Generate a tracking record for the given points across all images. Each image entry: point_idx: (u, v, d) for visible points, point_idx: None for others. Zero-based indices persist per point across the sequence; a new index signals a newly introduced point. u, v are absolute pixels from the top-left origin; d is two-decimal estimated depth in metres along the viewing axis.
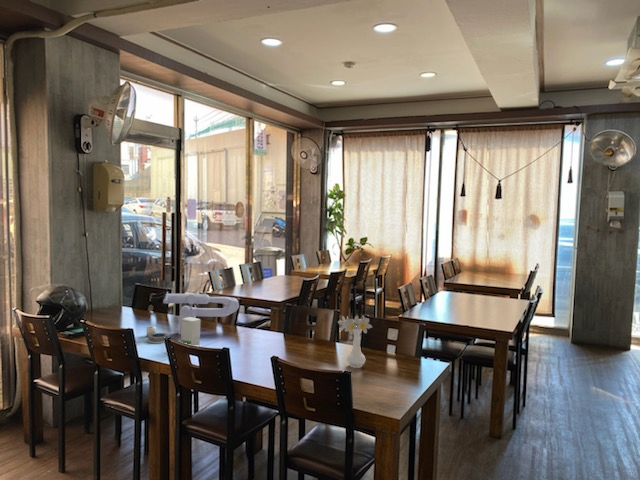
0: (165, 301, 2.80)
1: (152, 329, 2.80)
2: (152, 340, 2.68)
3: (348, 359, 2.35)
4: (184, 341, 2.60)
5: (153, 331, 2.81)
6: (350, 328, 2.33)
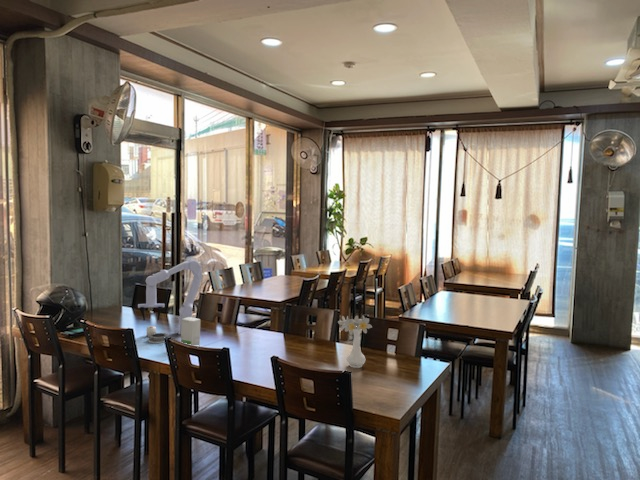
0: (164, 305, 2.83)
1: (152, 329, 2.80)
2: (152, 340, 2.68)
3: (348, 359, 2.35)
4: (184, 341, 2.60)
5: (153, 331, 2.81)
6: (350, 328, 2.33)
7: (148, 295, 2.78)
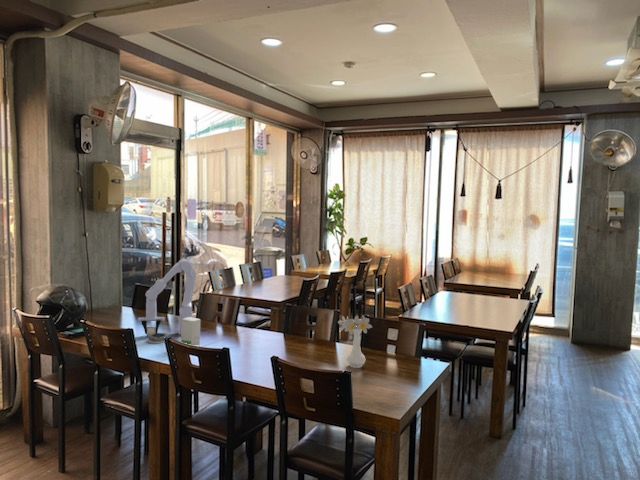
0: (164, 318, 2.84)
1: (152, 329, 2.80)
2: (152, 340, 2.68)
3: (348, 359, 2.35)
4: (184, 341, 2.60)
5: (153, 331, 2.81)
6: (350, 328, 2.33)
7: (148, 309, 2.79)
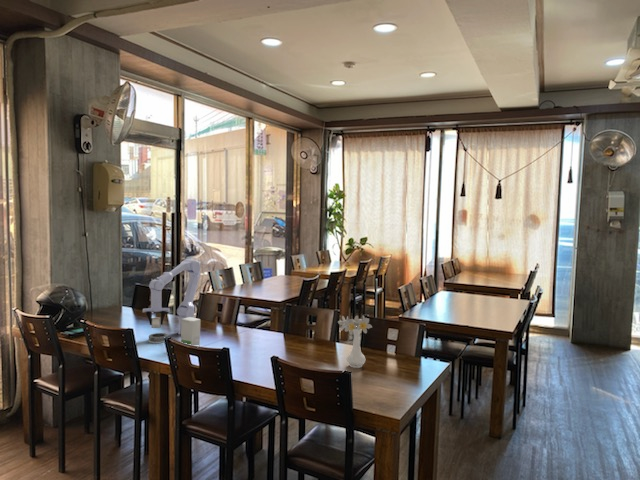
0: (169, 309, 2.76)
1: (157, 320, 2.73)
2: (152, 340, 2.68)
3: (348, 359, 2.35)
4: (184, 341, 2.60)
5: (158, 322, 2.74)
6: (350, 328, 2.33)
7: (155, 299, 2.71)
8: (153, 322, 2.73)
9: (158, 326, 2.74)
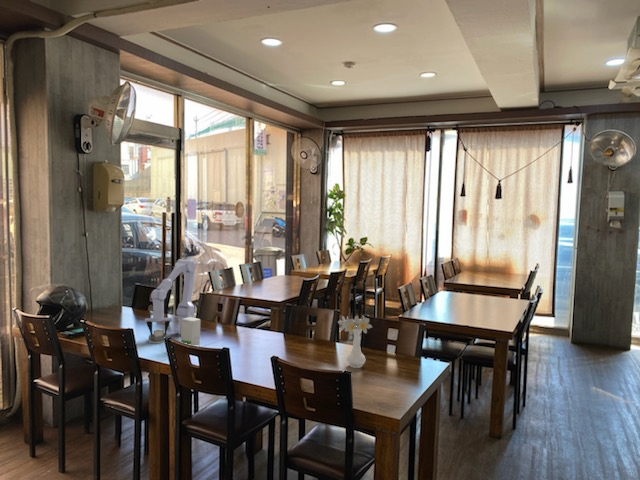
0: (171, 319, 2.74)
1: (160, 332, 2.71)
2: (152, 340, 2.68)
3: (348, 359, 2.35)
4: (184, 341, 2.60)
5: (161, 334, 2.71)
6: (350, 328, 2.33)
7: (158, 309, 2.69)
8: (155, 335, 2.71)
9: None
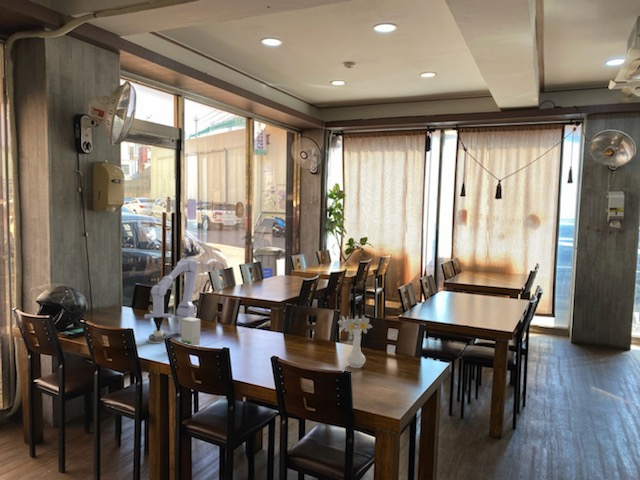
0: (171, 315, 2.74)
1: (160, 332, 2.71)
2: (152, 340, 2.68)
3: (348, 359, 2.35)
4: (184, 341, 2.60)
5: (161, 335, 2.71)
6: (350, 328, 2.33)
7: (158, 305, 2.69)
8: (155, 335, 2.71)
9: None
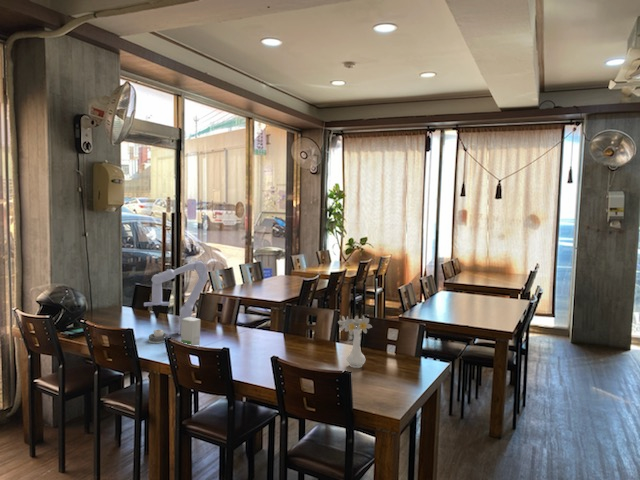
0: None
1: (160, 332, 2.71)
2: (152, 340, 2.68)
3: (348, 359, 2.35)
4: (184, 341, 2.60)
5: (161, 334, 2.71)
6: (350, 328, 2.33)
7: (153, 293, 2.81)
8: (155, 335, 2.71)
9: None
